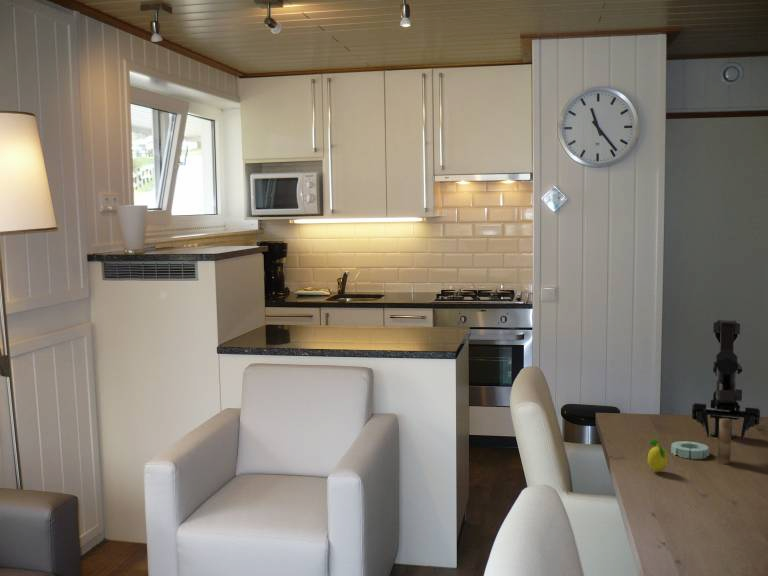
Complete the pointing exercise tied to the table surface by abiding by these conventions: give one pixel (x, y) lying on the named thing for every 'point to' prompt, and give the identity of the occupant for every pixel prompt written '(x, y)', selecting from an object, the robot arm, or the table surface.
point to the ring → (690, 449)
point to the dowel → (724, 440)
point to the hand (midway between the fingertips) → (724, 438)
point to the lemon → (657, 456)
